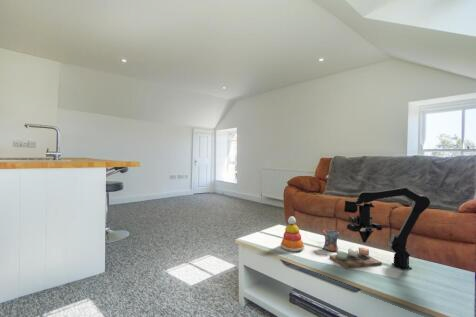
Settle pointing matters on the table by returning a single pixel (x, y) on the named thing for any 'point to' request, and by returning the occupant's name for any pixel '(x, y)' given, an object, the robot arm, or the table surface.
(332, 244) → the mug
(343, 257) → the sage button
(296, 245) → the stacking toy
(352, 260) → the button board
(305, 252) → the table surface
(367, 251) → the terracotta button
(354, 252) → the cream button
